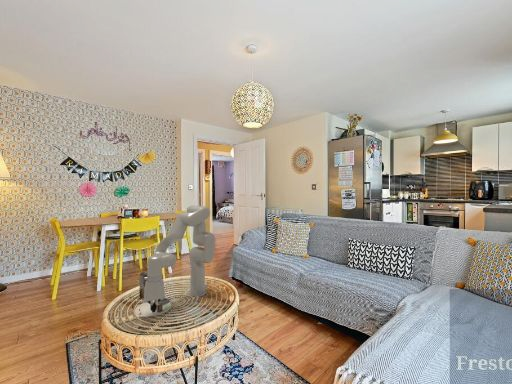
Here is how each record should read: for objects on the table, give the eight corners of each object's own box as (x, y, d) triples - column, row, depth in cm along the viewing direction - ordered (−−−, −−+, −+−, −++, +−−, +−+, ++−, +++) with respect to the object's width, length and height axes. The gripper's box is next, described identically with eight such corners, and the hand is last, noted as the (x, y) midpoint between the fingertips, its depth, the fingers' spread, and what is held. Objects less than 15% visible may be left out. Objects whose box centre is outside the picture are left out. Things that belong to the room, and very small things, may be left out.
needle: (149, 306, 144) (149, 300, 144) (155, 304, 147) (155, 298, 147) (158, 313, 136) (158, 307, 136) (164, 311, 139) (164, 304, 139)
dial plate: (156, 299, 158) (156, 294, 158) (178, 307, 148) (178, 302, 148) (127, 312, 141) (127, 307, 141) (149, 322, 131) (149, 316, 131)
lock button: (162, 298, 153) (162, 292, 153) (166, 299, 151) (166, 293, 151) (157, 300, 150) (157, 294, 150) (161, 302, 148) (161, 295, 148)
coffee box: (155, 294, 164) (155, 270, 164) (154, 299, 158) (154, 274, 158) (140, 296, 161) (140, 272, 161) (139, 300, 155) (139, 275, 155)
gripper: (140, 282, 130) (139, 317, 130) (170, 278, 138) (168, 311, 138) (139, 278, 136) (137, 311, 136) (167, 274, 144) (166, 305, 144)
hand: (153, 311), depth 137 cm, fingers closed
